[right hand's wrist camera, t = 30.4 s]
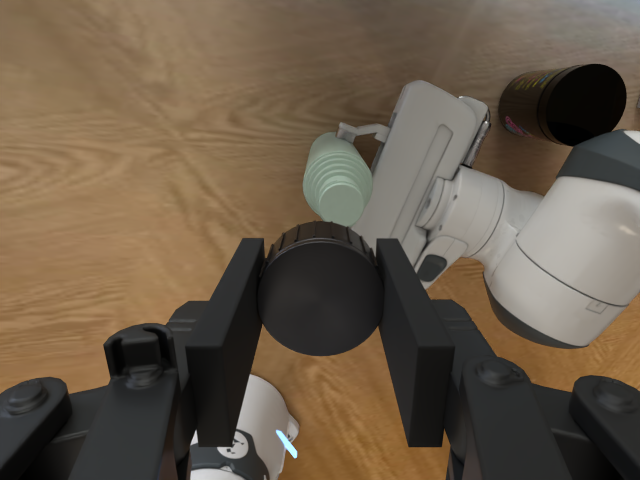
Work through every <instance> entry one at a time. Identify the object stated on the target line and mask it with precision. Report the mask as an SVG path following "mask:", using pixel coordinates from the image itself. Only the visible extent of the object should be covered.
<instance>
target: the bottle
mask: <svg viewBox="0 0 640 480" xmlns="http://www.w3.org/2000/svg"><path fill="white" fill-rule="evenodd" d="M335 135H336V132H328V133H325V134H322V135H321V136H319V137H318V138H317V139H316V140H315V141H314V142H313V144H312V146H311V148H310V152H309V157H308V161H307V166H306V170H305V175H304V179H303V192H304V196H305V199H306V201H307V203H308V205H309V206H310V207H311V209H312V210H313V211H314V212H315V213H316V214H318V215H319V216H320V217H321V218H322V220H323V221H325V222H331V221H333V223H337V224H340V225H343V226H345V227H347V226H348V227H352V226H353V225H355V224H356V222H357V221H358V220H359V219H360V217H361V216H362V214H363V212H364V209H365V207H366V206H367V204H368V202H369V200H370V198H371V195H372V190H373V179H372V175H371V172H370V170H369V168H368V166H367V165H366V163H365V162H364V160H363V159H362V157H361V156H360V154H359V153H358V151H357V150H356V148H355V146H354V145H353V144H352V143H349V142H347V141H346V140H345V139H343V140H342V139H339V138H336V137H335Z"/></svg>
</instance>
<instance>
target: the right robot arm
mask: <svg viewBox="0 0 640 480" xmlns="http://www.w3.org/2000/svg"><path fill="white" fill-rule="evenodd" d="M264 260H265V252H264V238H243V239H242V241H241V243H240V244H239V246H238V248H237V250H236V252H235V254H234V256H233V257H232V259H231V261H230V263H229V265H228V267H227V269H226V270H225V272H224V274H223V276H222V278H221V280H220V282H219V284H218V285H217V287H216V289H215V291H214V293H213V295H212V297H211V298H210V300H209V301H188V302H187V303H185V304H184V305H182V306H181V307H179V308H178V309H176V310H175V312H174V313H173V315H172V316H171V318H170V319H169V322H167V324H166V325H162V324H158V323H144V324H139V325H134V326H131V327H128V328H125V329H123V330H120V331H118V332H117V333H115V334H114V335H112V336H111V337H109V338H108V340H107V341H106V342H105V343H104V344H103V346H104V350H105V355H106V359H107V364H108V369H109V373H110V378H111V379H110V382H109V384H108V385H107V386H103V387H99V388H96V389H91V390H86V391H81V392H77V393H72V394H69V393H68V389H67V385H66V383H65V382H63V381H62V380H61V379H58V378H53V377H44V378H36V379H31V380H29V381H28V380H27V381H24V382H21V383H19V384H17V385H15V386H13V387H11V388H9V389H7V390H5V391H4V392H2V393H1V394H0V480H190V477H191V468H192V460H191V453H190V445H191V442H192V439H193V437H194V434H195V431H196V432H197V439H198V446H199V447H232V444H233V440H234V436H235V432H236V428H237V424H238V420H239V416H240V412H241V408H242V404H243V400H244V396H245V392H246V388H247V384H248V380H249V376H250V372H251V368H252V364H253V360H254V356H255V352H256V348H257V344H258V340H259V336H260V332H261V328H262V324H263V323H262V321H261V319H260V316H259V313H258V309H257V297H256V296H257V288H258V284H259V281H260V279H259V275H260V272H261V269H262V266H263V263H264ZM376 261H377V263H378V266H379V267H378V269H379V272H380V275H381V278H382V281H383V285H384V304H383V316H382V318H381V320H380V323H379V325H378V327H379V331H380V335H381V339H382V343H383V347H384V351H385V355H386V359H387V363H388V367H389V371H390V375H391V379H392V383H393V387H394V391H395V395H396V399H397V403H398V407H399V411H400V415H401V419H402V423H403V427H404V431H405V435H406V439H407V443H408V447H442V441H443V434H444V429H445V431H446V434H447V437H448V439H449V442H450V445H451V447H450V453H449V460H448V467H447V474H446V480H640V391H638V390H637V389H635V388H634V387H631V386H629V385H627V384H625V383H623V382H621V381H619V380H616V379H611V378H608V377H604V376H594V375H589V376H584V377H580V378H579V379H578V380H577V381H575V383H574V387H573V390H572V392H567V391H562V390H558V389H553V388H548V387H543V386H540V385H536V384H533V383H531V381H530V379H529V377H528V376H527V374H526V373H525V372H524V370H522V369H521V368H520V367H518V366H517V365H516V364H514V363H513V362H510V361H508V360H506V359H503V358H501V357H497V356H496V354H495V353H494V351H493V350H492V348H491V347H490V346H489V344H488V343H487V341H486V340H485V338H484V337H483V335H482V334H481V332H480V331H479V330H478V329H477V326H476V325H475V323H474V322H473V321H472V319H471V317H470V316H469V314H468V313H467V311H466V310H465V309H464V308H463V307H462V306H460V305H459V304H457V303H456V302H454V301H453V300H430V298H429V296H428V294H427V292H426V290H425V289H424V287H423V285H422V283H421V281H420V279H419V277H418V276H417V274H416V272H415V270H414V268H413V266H412V264H411V263H410V261H409V259H408V257H407V255H406V253H405V251H404V249H403V248H402V246H401V244H400V242H399V240H398V238H376Z"/></svg>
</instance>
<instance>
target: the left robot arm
mask: <svg viewBox="0 0 640 480" xmlns="http://www.w3.org/2000/svg"><path fill="white" fill-rule="evenodd" d="M485 115H486V118H485V121H483V119H484V117H485ZM489 121H490V111H489V108H488V106H487V105H486V104H485V103H484V102H482V101H480V100H477V99H475V98H472V97H470V96H460V97H457V98H456V97H455V96H453V95H451V94H450V93H448V92H446V91H444V90H443V89H441V88H439V87H437V86H435V85H433V84H430V83H428V82H426V81H423V80H415V81H413V82H410V83H408V84H406V85H405V86H404V87H403V89H402V91H401V94H400V96H399V99H398V101H397V104H396V106H395V109H394V111H393V114H392V116H391V119H390V121H389V124H388V126H387V127H386V126H383V125H381V124H378V123H374V124H369V125H363V126H358V127H357V128H356V127H353V126H351V125H348V124H346V123H343V122H340V124H339V126H338V129H337V132H336V135H335V137H336V138H339V139H342V140H343V139H345V140H346V141H347V142H349V143H352V144H353V142H354V139H355V137H356V136H359V135H364V134H370V133H373V135H372V136H373V137H374V138H375V139H377V140H379V141H381V143H380V146H379V148H378V151H377V153H376V156H375V158H374V161H373V163H372V166H371V168H370V172H371V175H372V179H373V190H372V195H371V198H370V200H369V202H368V204H367V206H366V207H365V209H364V212H363V214H362V216H361V217H360V219H359V220H358V221H357V222H356V224H355V225H353V226H352V227H349V228H350V229H351V230H353V231H354V232H356V233H357V234H358V235H360V236H361V235H362V236H363V239H364V240H365V242H366V243H367V244H368V246H369V247H370V248H372V249H373V252H374V255H375V258H376V238H398V240H399V242H400V244H401V246H402V248H403V249H404V251H405V253H406V255H407V257H408V259H409V261H410V263H411V264H412V266H413V268H414V270H415V272H416V274H417V276H418V277H419V279H420V281H421V283H422V285H423V287H424V289H427V288H429V287H430V286H431V285H432V284H433V283H434V282H435V281H436V280H437V279H438V278H439V276H440V275H441V274H442V273H443V272H444V271H445V270H446V269H447V268H448V267H450V266H451V265H452V264H453V263H454V262H455V261H456V260H457V259H458V258H460V257H463V258H471V259H475V260H478V261H480V262H481V263H482V264H483V265H484V268H485V270H484V271H483V278H484V283H485V286H486V290H487V294H488V297H489V300H490V304H491V307H492V309H493V312H494V313H495V315H496V317H497V318H498V320H499V321H500V322H501V323H502V324H503V325H504V326H505V327H507V328H508V329H509V330H511V331H512V332H514V333H516V334H517V335H519V336H521V337H523V338H525V339H528V340H530V341H532V342H535V343H538V344H542V345H546V346H550V347H556V348H563V349H576V348H583V347H587V346H588V345H589V344H590V343H591V342H592V341H593V340H595V339H596V338H597V337H598V336H599V335H600V334H601V333H602V332H603V331H604V330H605V329H606V328H607V327H608V326H609V325H610V324H611V323H612V322H613V321H614V320H615V319H616V318H617V317H618V316H619V315H620V314H621V313H622V312H623V311H624V309H625V308H626V307H627V306H628V305H629V303H630V302H631V301H632V300H633V299H634V298H635V297H636V296H637V294H638V293H639V292H640V131H629V130H625V129H620V130H616V131H612V132H609V133H605V134H602V135H599V136H597V137H594V138H592V139H589V140H587V141H584V142H582V143H580V144H578V145H576V146H574V147H573V149H572V151H571V152H570V154H569V156H568V157H567V159H566V161H565V163H564V164H563V166H562V168H561V170H560V171H559V173H558V175H557V176H556V181H555V182H554V184H553V185H552V186H551V188H550V189H549V191H548V192H547V194H546V195H545V196H543V195H540V194H538V193H535V192H531V191H520V190H516V189H513V188H511V187H510V186H509V185H507V184H506V183H505V182H504V181H502V180H500V179H498V178H496V177H493V176H490V175H488V174H485V173H482V172H480V171H477V170H475V169H472V166H473V164H474V162H475V160H476V157H477V155H478V153H479V151H480V148H481V144H482V143H483V141H484V139H485V137H486V136H487V135H488V133H489V131H490V128H491V123H489ZM460 163H462V164H460ZM299 428H300V426H299V424H298V422H297V421H296V420H295V419H294V418H293V417H292V416H291V415H290V414H289V412H288V410H287V407H286V404H285V401H284V399H283V397H282V396H281V394H280V393H279V392H278V390H277V389H276V388H275V387H274V386H272V385H271V384H270V383H268V382H267V381H265V380H264V379H262V378H260V377H257V376H255V375H251V374H250V376H249V380H248V384H247V388H246V392H245V396H244V400H243V404H242V408H241V412H240V416H239V420H238V424H237V428H236V432H235V436H234V440H233V444H232V447H199V446H198V439H197V432H196V431H195V434H194V437H193V439H192V442H191V445H190V453H191V460H192V468H191V477H190V480H277V479H278V477H279V473H281V472H282V469H283V464H284V458H285V452H286V450H287V449H288V450H289V452H290V453H291V454H292V455H293V457H294V458H296V457H297V451H296V450H295V449H294V447H293V446H292V445H291V443H292V442H293V440H294V439H295V438H296V437H297V435H298V433H299Z"/></svg>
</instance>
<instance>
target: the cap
mask: <svg viewBox="0 0 640 480" xmlns="http://www.w3.org/2000/svg"><path fill="white" fill-rule="evenodd" d="M378 267H379V266H378V263H377V261H376V258H375V255H374V252H373V249H372V248H370V247H369V246H368V244H367V243H366V242H365V240H364V239H363V236H362V235H361V236H360V235H358V234H357V233H356V232H354V231H353V230H351V229H350V228H349V227H348V226H347V227H345V226H343V225H340V224H337V223H333V221H331V222H325V221H313V222H309V223H305V224H301V225H299V224H298V225H297V226H296V227H294V228H292V229H290V230H289V231H287V232H286V233H282V236H281V237H280V238H279V239H278V240H277V241H276V242H275V244H272V245H271V248H270V251H269V254H268V257H267V258H265V260H264V263H263V266H262V269H261V272H260V275H259V279H260V281H259V284H258V288H257V296H256V297H257V309H258V313H259V316H260V319H261V321H262V323H263V325H264V326H265V328H266V330H267V331H268V332H269V333H270V335H271V336H272V337H273V338H275V339H276V340H277V341H278V342H279V343H281V344H282V345H284V346H285V347H287V348H289V349H291V350H293V351H296V352H298V353H302V354H306V355H311V356H330V355H336V354H340V353H344V352H346V351H349V350H351V349H353V348H355V347H357V346H358V345H360V344H361V343H363V342H364V341H365V340H366V339H367V338H368V337H369V336H370V335H371V334H372V333H373V332H374V331H375V329H376V328H377V326H378V325H379V323H380V320H381V318H382V316H383V304H384V285H383V281H382V278H381V275H380V272H379V269H378Z"/></svg>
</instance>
